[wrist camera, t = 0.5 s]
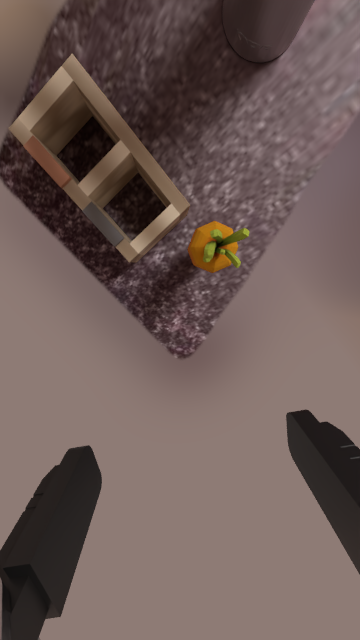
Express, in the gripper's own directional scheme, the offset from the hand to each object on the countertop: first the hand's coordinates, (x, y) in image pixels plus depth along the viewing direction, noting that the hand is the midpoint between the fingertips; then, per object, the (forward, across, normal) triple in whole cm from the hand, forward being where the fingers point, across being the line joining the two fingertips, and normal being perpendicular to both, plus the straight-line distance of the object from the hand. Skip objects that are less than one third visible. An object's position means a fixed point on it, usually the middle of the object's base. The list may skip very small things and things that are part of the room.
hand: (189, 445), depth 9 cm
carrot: (+26, -4, -7) cm, 28 cm away
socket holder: (+26, +5, -18) cm, 32 cm away
